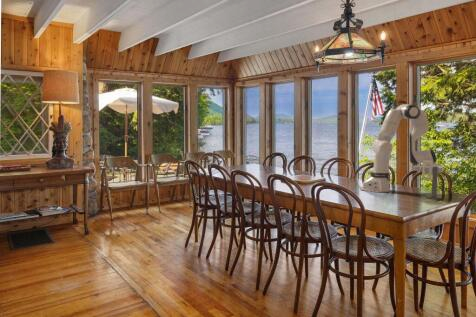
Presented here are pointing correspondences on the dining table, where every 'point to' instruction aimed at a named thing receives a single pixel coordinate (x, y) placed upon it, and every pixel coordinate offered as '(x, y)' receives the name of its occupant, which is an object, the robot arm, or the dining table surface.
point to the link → (429, 170)
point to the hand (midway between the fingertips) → (427, 170)
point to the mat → (425, 194)
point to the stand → (434, 185)
